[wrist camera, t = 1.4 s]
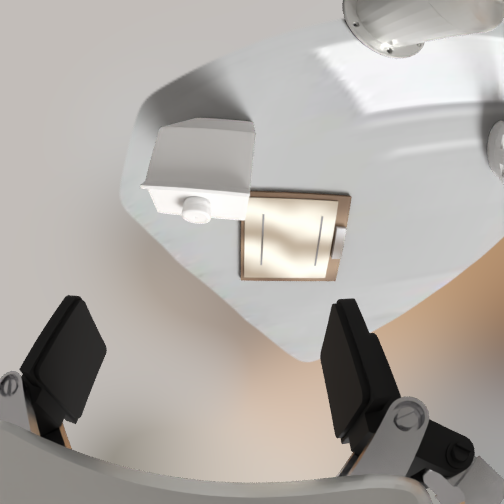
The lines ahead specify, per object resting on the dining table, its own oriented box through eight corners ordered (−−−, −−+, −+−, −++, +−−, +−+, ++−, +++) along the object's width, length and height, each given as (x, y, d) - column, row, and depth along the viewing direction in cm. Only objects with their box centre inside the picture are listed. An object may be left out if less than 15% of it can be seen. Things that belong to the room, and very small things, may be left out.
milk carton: (196, 117, 31) (140, 132, 15) (253, 121, 31) (257, 139, 15) (193, 170, 35) (142, 235, 18) (247, 175, 35) (243, 246, 19)
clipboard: (241, 190, 36) (241, 193, 35) (350, 195, 36) (353, 198, 35) (240, 278, 43) (240, 282, 42) (334, 278, 43) (336, 283, 42)
